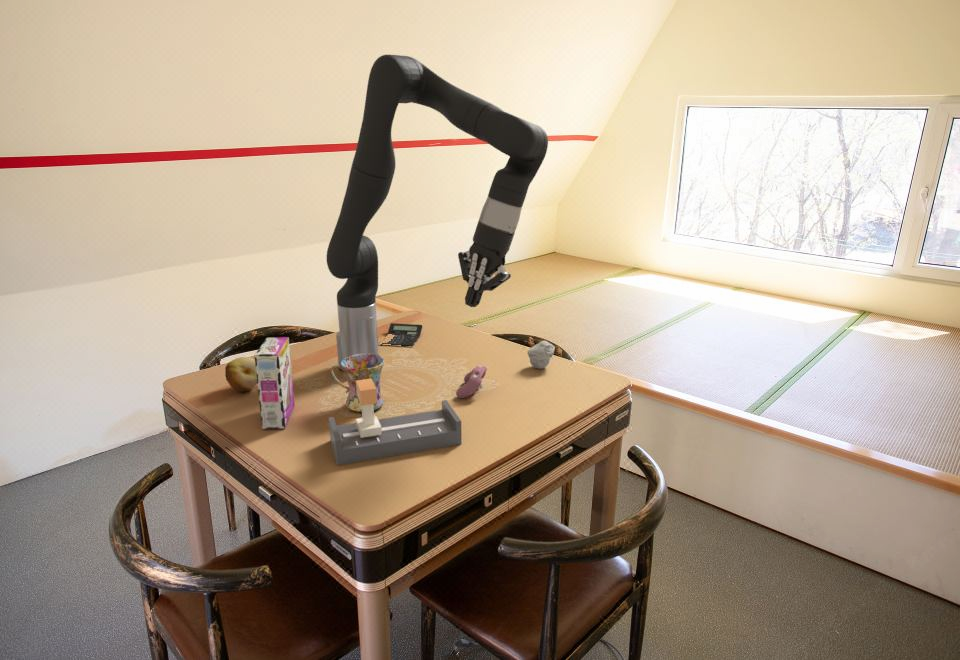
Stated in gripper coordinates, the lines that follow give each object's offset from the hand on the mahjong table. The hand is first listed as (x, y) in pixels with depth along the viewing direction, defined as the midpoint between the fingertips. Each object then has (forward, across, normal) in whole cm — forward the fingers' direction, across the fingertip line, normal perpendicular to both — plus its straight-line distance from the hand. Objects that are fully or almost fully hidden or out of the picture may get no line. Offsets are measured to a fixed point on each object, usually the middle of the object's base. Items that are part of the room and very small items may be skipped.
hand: (470, 305), depth 133 cm
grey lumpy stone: (+17, +1, +35) cm, 39 cm away
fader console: (+28, +3, -13) cm, 31 cm away
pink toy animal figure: (+23, -2, +14) cm, 27 cm away
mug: (+31, -15, -7) cm, 35 cm away
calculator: (+28, -40, +28) cm, 57 cm away
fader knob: (+26, 0, -18) cm, 32 cm away
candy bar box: (+36, -23, -21) cm, 47 cm away
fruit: (+39, -41, -18) cm, 59 cm away
